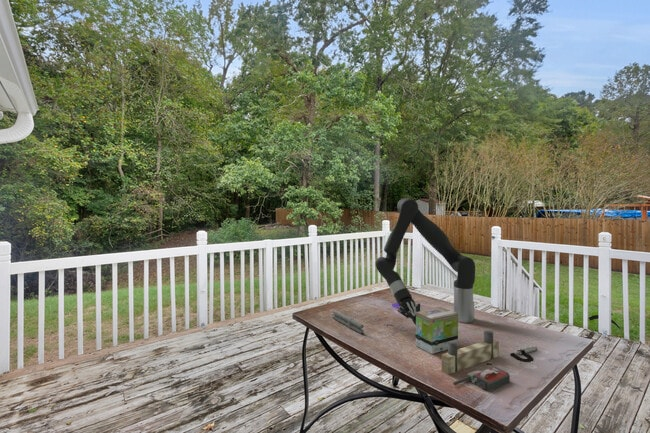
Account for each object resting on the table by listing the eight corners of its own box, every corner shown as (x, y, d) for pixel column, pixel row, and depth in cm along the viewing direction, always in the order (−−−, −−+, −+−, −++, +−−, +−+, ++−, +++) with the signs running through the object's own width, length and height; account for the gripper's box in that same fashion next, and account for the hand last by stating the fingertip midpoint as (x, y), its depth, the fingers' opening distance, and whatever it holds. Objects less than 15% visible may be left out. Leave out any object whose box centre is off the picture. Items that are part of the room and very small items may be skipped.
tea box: (432, 355, 129) (432, 318, 129) (415, 345, 138) (414, 311, 138) (459, 347, 136) (458, 312, 136) (440, 338, 145) (440, 306, 145)
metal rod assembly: (332, 319, 173) (332, 309, 173) (336, 318, 175) (336, 309, 175) (360, 335, 151) (360, 324, 151) (364, 334, 152) (364, 323, 152)
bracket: (414, 310, 185) (414, 298, 185) (404, 312, 182) (404, 300, 182) (401, 304, 196) (401, 293, 196) (392, 306, 193) (391, 295, 193)
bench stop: (491, 353, 130) (491, 328, 130) (499, 356, 127) (499, 331, 127) (441, 370, 117) (441, 343, 117) (448, 374, 114) (448, 346, 114)
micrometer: (525, 364, 121) (525, 357, 121) (507, 356, 128) (507, 350, 128) (551, 356, 127) (551, 350, 127) (533, 349, 134) (533, 343, 133)
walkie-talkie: (489, 370, 117) (450, 386, 107) (489, 358, 117) (450, 373, 107) (513, 382, 109) (474, 399, 100) (513, 369, 109) (474, 385, 100)
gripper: (393, 289, 151) (411, 323, 141) (414, 285, 157) (433, 318, 147) (386, 297, 156) (403, 331, 146) (407, 294, 162) (425, 326, 152)
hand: (418, 324), depth 146 cm, fingers closed
